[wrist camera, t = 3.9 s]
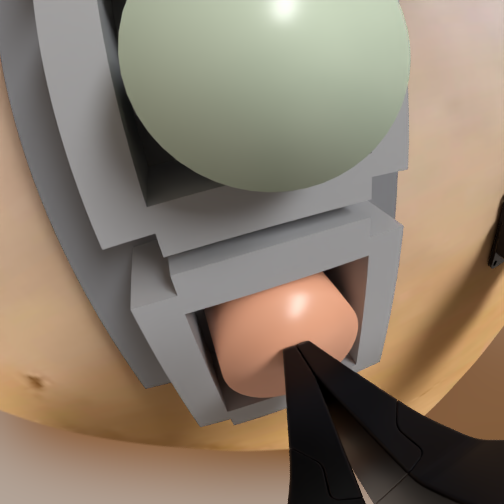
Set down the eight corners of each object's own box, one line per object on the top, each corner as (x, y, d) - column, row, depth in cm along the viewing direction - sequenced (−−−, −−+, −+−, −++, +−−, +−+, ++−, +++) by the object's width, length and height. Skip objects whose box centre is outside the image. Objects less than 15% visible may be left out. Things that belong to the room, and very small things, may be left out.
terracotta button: (315, 226, 11) (363, 275, 8) (318, 317, 13) (352, 368, 11) (188, 263, 10) (204, 328, 8) (218, 350, 13) (237, 411, 10)
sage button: (311, -31, 5) (389, -65, 3) (332, 130, 8) (412, 164, 5) (118, -11, 4) (98, -64, 2) (157, 169, 7) (162, 227, 4)
